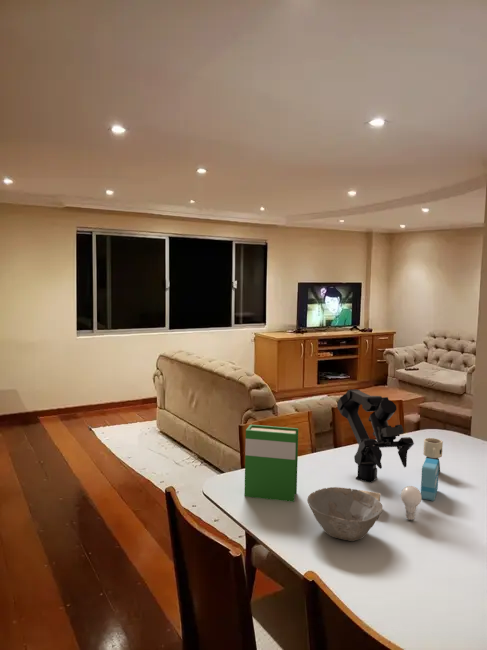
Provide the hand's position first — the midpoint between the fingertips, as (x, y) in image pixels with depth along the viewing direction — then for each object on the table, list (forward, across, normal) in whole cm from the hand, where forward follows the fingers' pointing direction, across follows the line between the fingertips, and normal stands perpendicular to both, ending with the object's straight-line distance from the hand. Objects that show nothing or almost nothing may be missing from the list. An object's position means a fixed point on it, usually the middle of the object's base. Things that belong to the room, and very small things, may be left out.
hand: (393, 467), depth 179 cm
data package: (+7, +16, +11) cm, 21 cm away
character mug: (-7, +30, +26) cm, 40 cm away
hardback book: (+1, -41, +17) cm, 44 cm away
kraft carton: (+12, -11, +5) cm, 17 cm away
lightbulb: (+18, -1, -2) cm, 19 cm away
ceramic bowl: (+22, -26, -5) cm, 34 cm away
